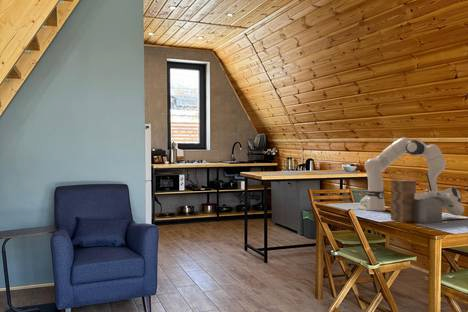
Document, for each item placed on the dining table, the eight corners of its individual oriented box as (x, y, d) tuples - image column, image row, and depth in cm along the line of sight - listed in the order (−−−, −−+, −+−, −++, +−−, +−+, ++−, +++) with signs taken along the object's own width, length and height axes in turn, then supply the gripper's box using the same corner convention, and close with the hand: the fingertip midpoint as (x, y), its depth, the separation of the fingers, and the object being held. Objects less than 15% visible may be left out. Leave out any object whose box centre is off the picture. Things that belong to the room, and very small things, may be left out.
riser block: (413, 221, 281) (413, 198, 281) (428, 219, 287) (429, 196, 287) (426, 224, 272) (426, 199, 271) (441, 222, 278) (442, 198, 277)
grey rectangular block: (414, 198, 276) (414, 193, 276) (436, 197, 285) (436, 191, 285) (418, 199, 273) (418, 193, 273) (441, 197, 282) (441, 192, 282)
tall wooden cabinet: (389, 219, 288) (390, 180, 288) (403, 218, 293) (403, 179, 293) (402, 222, 278) (403, 181, 278) (416, 220, 284) (416, 180, 283)
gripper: (433, 194, 296) (420, 185, 291) (460, 198, 277) (447, 188, 272) (430, 203, 295) (417, 193, 289) (457, 207, 276) (444, 197, 271)
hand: (432, 191), depth 281 cm, fingers open, 8 cm apart
